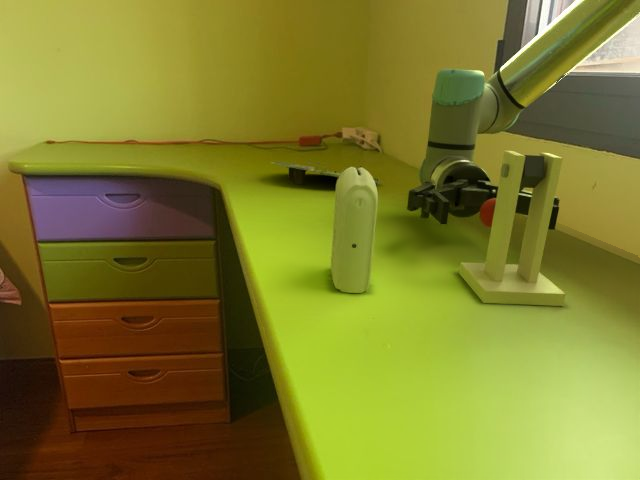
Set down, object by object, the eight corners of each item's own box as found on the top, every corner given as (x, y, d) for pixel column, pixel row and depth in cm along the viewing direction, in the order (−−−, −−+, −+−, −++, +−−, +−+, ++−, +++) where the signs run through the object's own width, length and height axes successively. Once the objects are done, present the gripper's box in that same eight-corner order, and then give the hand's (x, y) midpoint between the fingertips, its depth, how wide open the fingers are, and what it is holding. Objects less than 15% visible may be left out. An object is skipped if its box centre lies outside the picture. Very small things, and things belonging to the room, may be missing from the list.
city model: (404, 196, 146) (409, 166, 143) (333, 192, 128) (337, 157, 126) (316, 181, 160) (320, 153, 158) (242, 175, 143) (245, 144, 141)
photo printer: (372, 294, 76) (383, 176, 70) (333, 293, 75) (341, 174, 69) (363, 269, 85) (372, 162, 79) (328, 268, 84) (335, 160, 79)
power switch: (458, 273, 86) (477, 145, 79) (528, 276, 86) (554, 149, 79) (483, 303, 75) (508, 159, 68) (563, 306, 76) (596, 163, 69)
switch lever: (475, 231, 88) (475, 204, 88) (503, 232, 88) (503, 205, 89) (518, 181, 73) (518, 148, 73) (551, 183, 73) (551, 150, 74)
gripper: (536, 217, 106) (591, 251, 87) (375, 209, 104) (396, 242, 85) (546, 165, 102) (606, 188, 83) (380, 156, 100) (402, 178, 82)
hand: (500, 215), depth 84 cm, fingers open, 13 cm apart
